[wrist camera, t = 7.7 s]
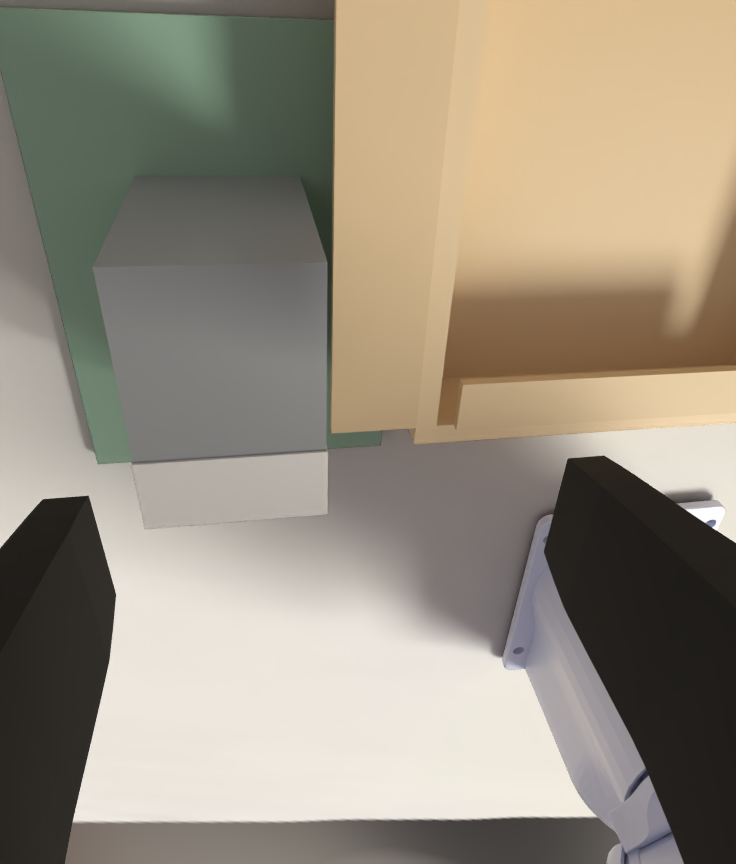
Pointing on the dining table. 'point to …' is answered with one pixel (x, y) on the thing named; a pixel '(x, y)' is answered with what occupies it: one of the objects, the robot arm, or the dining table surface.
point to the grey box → (219, 347)
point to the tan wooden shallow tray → (533, 217)
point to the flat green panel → (158, 143)
